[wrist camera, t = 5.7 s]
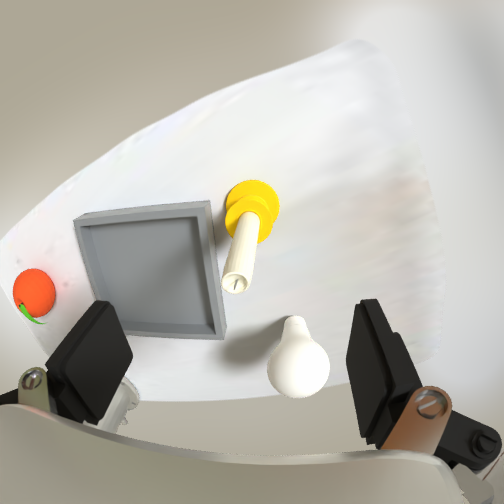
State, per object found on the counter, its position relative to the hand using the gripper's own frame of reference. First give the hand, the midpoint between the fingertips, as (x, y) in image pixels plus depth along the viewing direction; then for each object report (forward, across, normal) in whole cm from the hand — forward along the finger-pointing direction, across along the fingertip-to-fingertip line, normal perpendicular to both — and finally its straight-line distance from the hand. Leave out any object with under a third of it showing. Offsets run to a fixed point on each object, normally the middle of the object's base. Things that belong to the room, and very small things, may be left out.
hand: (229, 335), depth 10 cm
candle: (+20, +1, +1) cm, 20 cm away
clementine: (+19, +32, +10) cm, 38 cm away
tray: (+19, +13, +8) cm, 24 cm away
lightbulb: (+19, -3, +15) cm, 25 cm away
